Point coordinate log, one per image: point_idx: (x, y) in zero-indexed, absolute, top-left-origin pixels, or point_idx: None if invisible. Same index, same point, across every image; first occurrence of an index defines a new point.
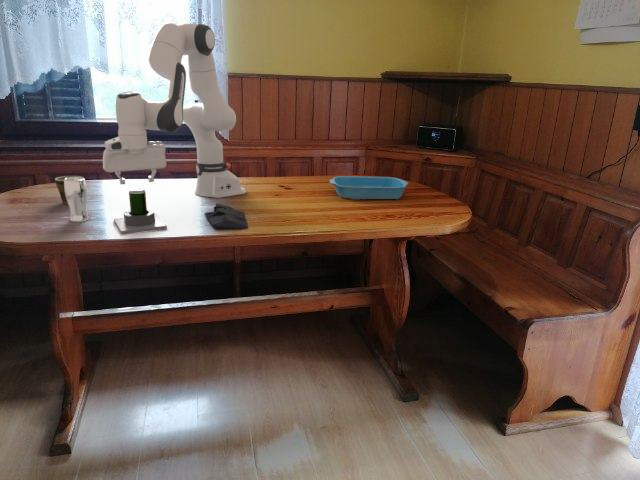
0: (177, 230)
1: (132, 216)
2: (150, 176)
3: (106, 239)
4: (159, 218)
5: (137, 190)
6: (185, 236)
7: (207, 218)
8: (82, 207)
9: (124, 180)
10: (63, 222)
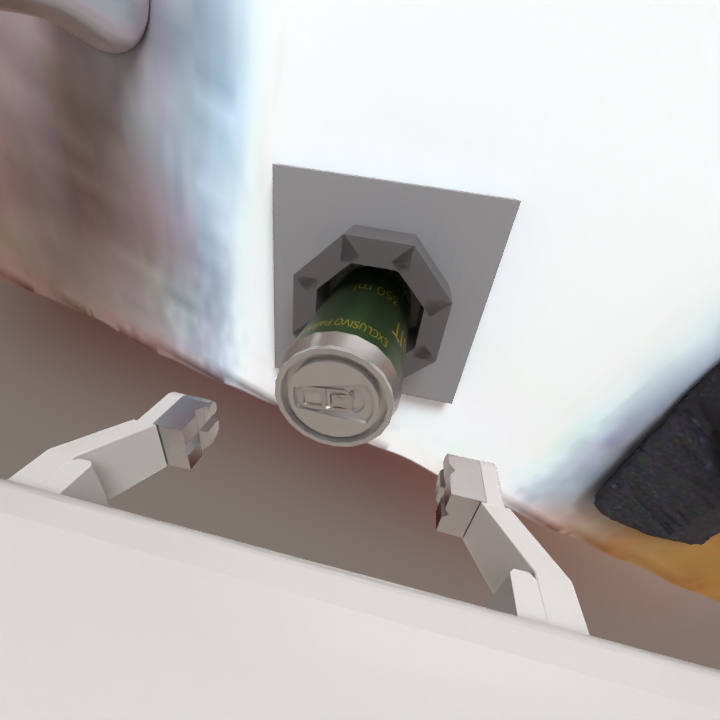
0: (474, 427)
1: None
2: (464, 517)
3: (228, 376)
4: (483, 295)
5: (325, 434)
6: None
7: (690, 399)
8: (46, 9)
9: (193, 458)
10: None
